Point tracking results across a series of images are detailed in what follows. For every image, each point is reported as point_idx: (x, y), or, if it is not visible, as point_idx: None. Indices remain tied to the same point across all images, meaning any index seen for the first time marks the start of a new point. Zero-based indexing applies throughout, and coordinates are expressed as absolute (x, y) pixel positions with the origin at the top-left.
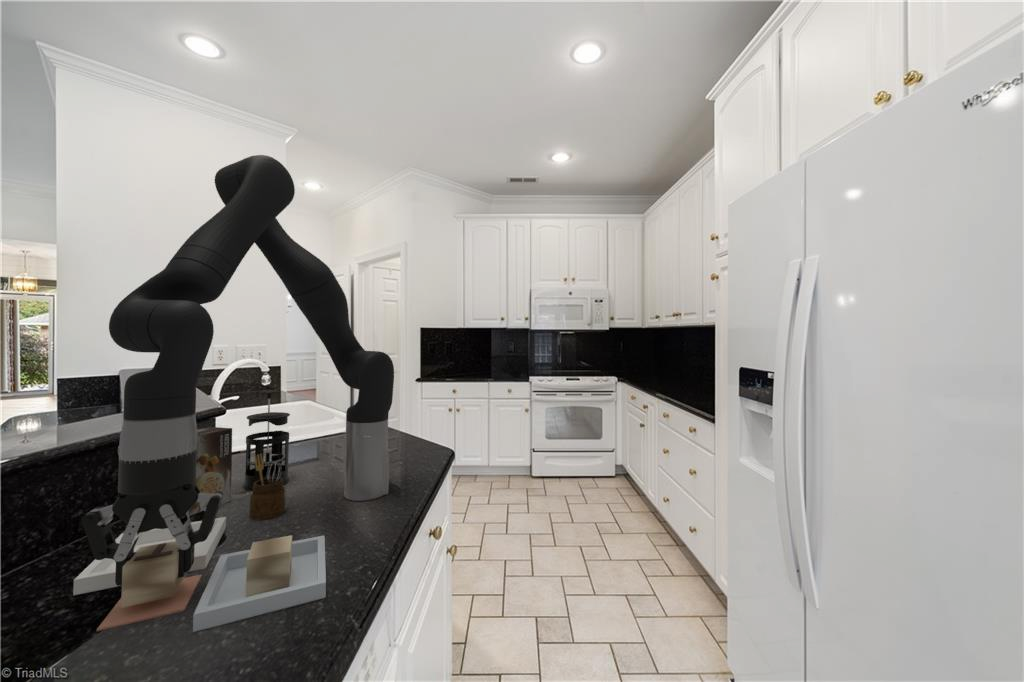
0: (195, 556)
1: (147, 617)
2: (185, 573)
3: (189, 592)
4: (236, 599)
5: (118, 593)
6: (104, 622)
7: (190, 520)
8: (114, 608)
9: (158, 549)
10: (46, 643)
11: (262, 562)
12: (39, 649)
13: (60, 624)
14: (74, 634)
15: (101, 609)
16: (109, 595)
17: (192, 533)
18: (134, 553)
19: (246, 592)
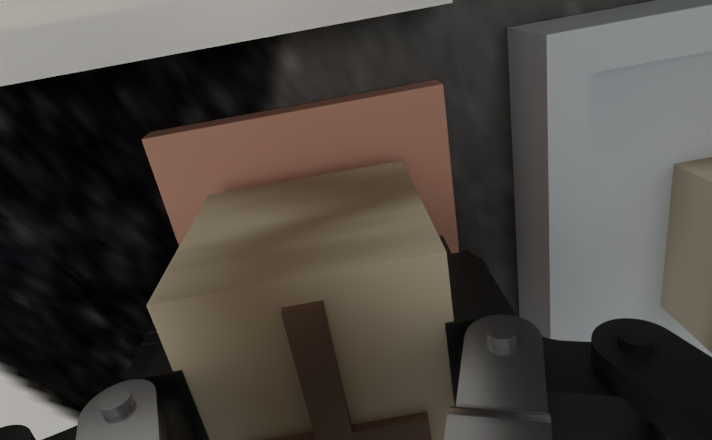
0: (392, 5)
1: None
2: None
3: (444, 234)
4: (629, 307)
5: (89, 97)
6: None
7: (550, 423)
8: None
9: (327, 393)
10: (87, 357)
11: None
12: (93, 378)
13: (33, 270)
14: (143, 334)
15: (115, 210)
16: (57, 104)
17: (550, 410)
18: (182, 388)
19: (674, 317)
